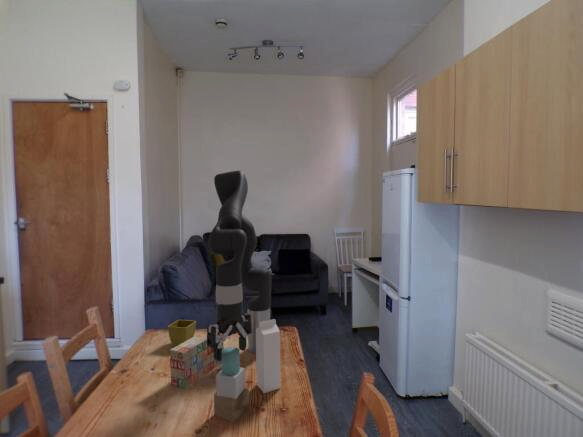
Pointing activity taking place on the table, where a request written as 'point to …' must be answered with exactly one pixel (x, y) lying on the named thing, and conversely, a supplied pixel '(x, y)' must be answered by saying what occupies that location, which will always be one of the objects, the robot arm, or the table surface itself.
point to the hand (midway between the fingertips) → (230, 354)
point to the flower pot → (181, 331)
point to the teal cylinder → (230, 361)
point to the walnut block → (231, 406)
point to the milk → (268, 356)
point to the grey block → (230, 384)
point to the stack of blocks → (191, 361)
